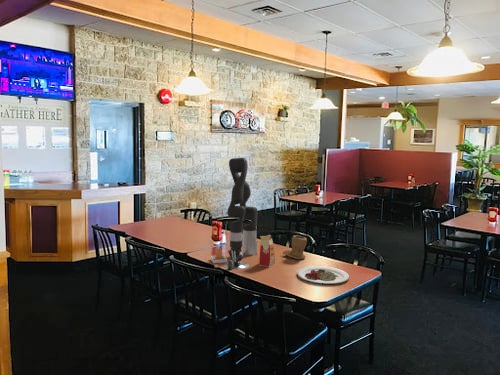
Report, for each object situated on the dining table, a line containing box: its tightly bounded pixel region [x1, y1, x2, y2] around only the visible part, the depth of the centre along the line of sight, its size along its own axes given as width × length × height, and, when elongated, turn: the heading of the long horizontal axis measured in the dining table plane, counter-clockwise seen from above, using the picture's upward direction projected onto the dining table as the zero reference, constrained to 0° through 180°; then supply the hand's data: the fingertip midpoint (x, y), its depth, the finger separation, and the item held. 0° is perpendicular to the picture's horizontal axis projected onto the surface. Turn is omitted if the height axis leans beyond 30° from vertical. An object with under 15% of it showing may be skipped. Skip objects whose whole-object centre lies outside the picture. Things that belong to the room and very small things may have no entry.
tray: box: [210, 254, 228, 264], centre depth 266 cm, size 9×9×2 cm
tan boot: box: [282, 234, 308, 260], centre depth 278 cm, size 15×12×15 cm
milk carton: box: [258, 234, 277, 269], centre depth 259 cm, size 9×9×20 cm
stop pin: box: [215, 247, 223, 260], centre depth 266 cm, size 4×4×8 cm
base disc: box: [213, 261, 250, 270], centre depth 256 cm, size 22×16×2 cm
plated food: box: [296, 265, 350, 285], centre depth 240 cm, size 30×30×3 cm
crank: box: [227, 259, 241, 271], centre depth 253 cm, size 13×4×5 cm, turn 155°
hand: (235, 267), depth 244 cm, fingers closed
